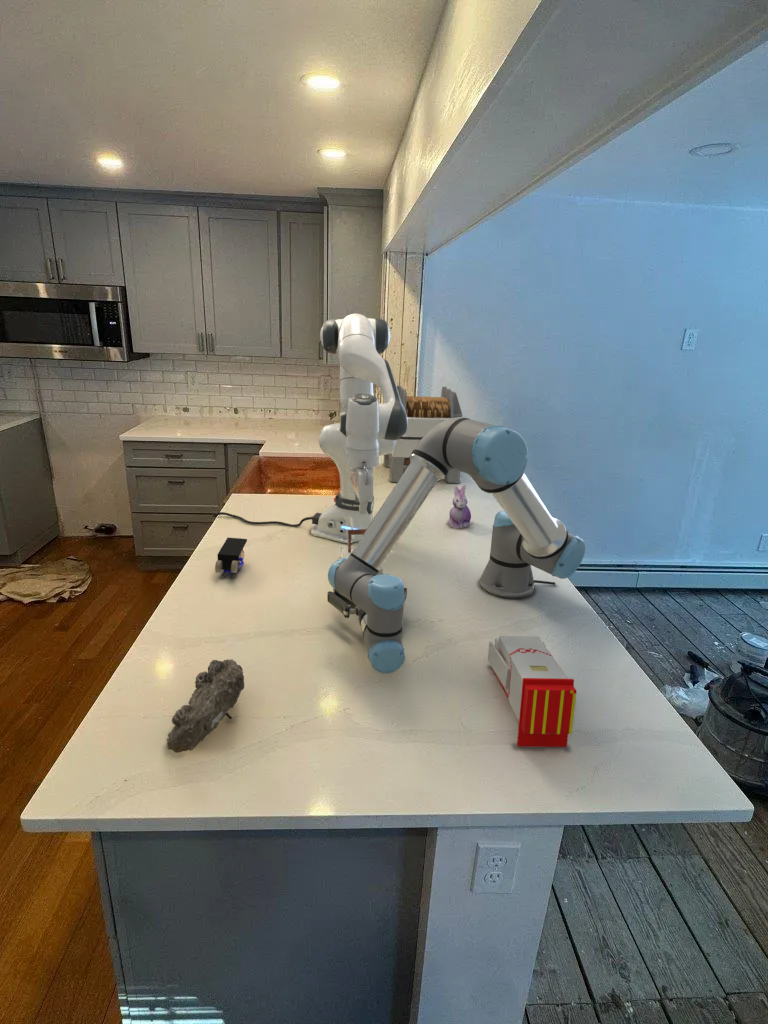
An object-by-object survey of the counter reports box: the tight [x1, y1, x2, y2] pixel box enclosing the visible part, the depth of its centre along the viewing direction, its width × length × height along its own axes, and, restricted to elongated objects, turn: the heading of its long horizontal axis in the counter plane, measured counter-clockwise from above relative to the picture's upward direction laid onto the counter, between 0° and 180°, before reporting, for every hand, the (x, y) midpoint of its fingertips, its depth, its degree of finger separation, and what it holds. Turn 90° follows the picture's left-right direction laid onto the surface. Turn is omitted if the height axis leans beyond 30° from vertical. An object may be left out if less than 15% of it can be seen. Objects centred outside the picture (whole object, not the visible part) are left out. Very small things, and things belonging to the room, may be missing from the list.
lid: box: [340, 529, 384, 572], centre depth 153 cm, size 14×10×8 cm, turn 10°
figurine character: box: [214, 537, 248, 578], centre depth 166 cm, size 7×8×15 cm
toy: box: [486, 635, 577, 748], centre depth 115 cm, size 12×13×30 cm
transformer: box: [383, 384, 463, 484], centre depth 268 cm, size 34×33×41 cm
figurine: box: [448, 484, 472, 529], centre depth 208 cm, size 9×10×15 cm
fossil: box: [166, 658, 245, 754], centre depth 106 cm, size 22×10×15 cm
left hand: (360, 507), depth 154 cm, fingers open, 8 cm apart
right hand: (363, 580), depth 150 cm, fingers open, 13 cm apart
